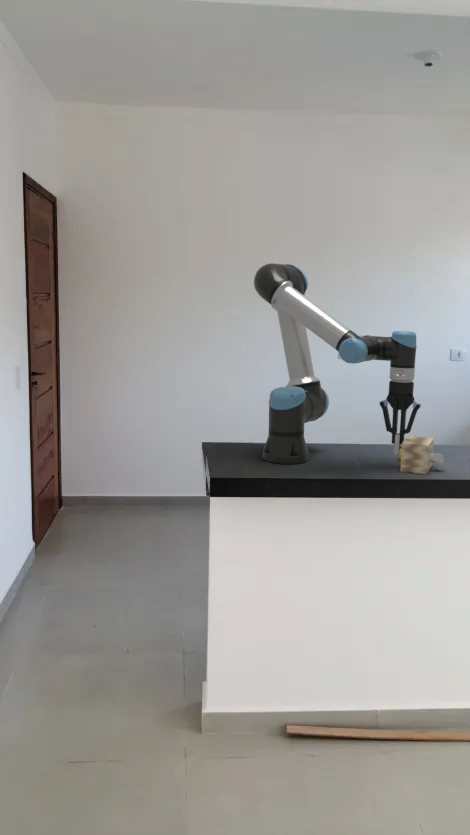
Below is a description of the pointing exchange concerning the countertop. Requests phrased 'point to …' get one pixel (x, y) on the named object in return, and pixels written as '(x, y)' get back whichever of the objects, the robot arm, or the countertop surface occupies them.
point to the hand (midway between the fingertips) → (397, 453)
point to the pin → (433, 457)
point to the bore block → (416, 454)
